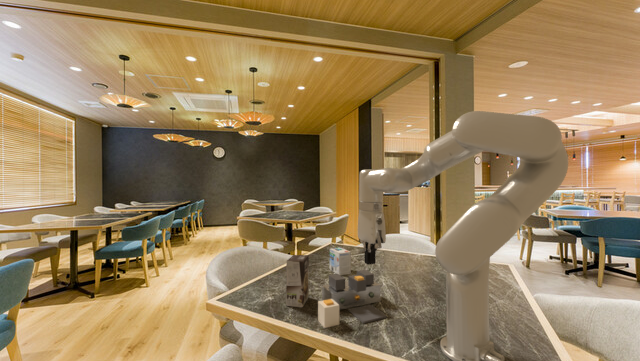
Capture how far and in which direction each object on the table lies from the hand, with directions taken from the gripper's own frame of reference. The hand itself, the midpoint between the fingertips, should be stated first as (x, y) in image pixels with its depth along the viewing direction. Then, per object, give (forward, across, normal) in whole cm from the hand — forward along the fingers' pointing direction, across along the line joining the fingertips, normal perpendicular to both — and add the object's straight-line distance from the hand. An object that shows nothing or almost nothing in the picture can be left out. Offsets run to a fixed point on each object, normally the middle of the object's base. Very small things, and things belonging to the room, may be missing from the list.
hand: (369, 263), depth 87 cm
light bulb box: (+18, +44, -12) cm, 49 cm away
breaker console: (+18, +12, 0) cm, 21 cm away
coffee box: (+18, +20, +18) cm, 32 cm away
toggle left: (+11, +12, +6) cm, 18 cm away
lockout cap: (+18, +2, +14) cm, 22 cm away
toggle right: (+11, +12, -6) cm, 18 cm away
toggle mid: (+11, +8, 0) cm, 14 cm away
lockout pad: (+17, +2, 0) cm, 17 cm away
